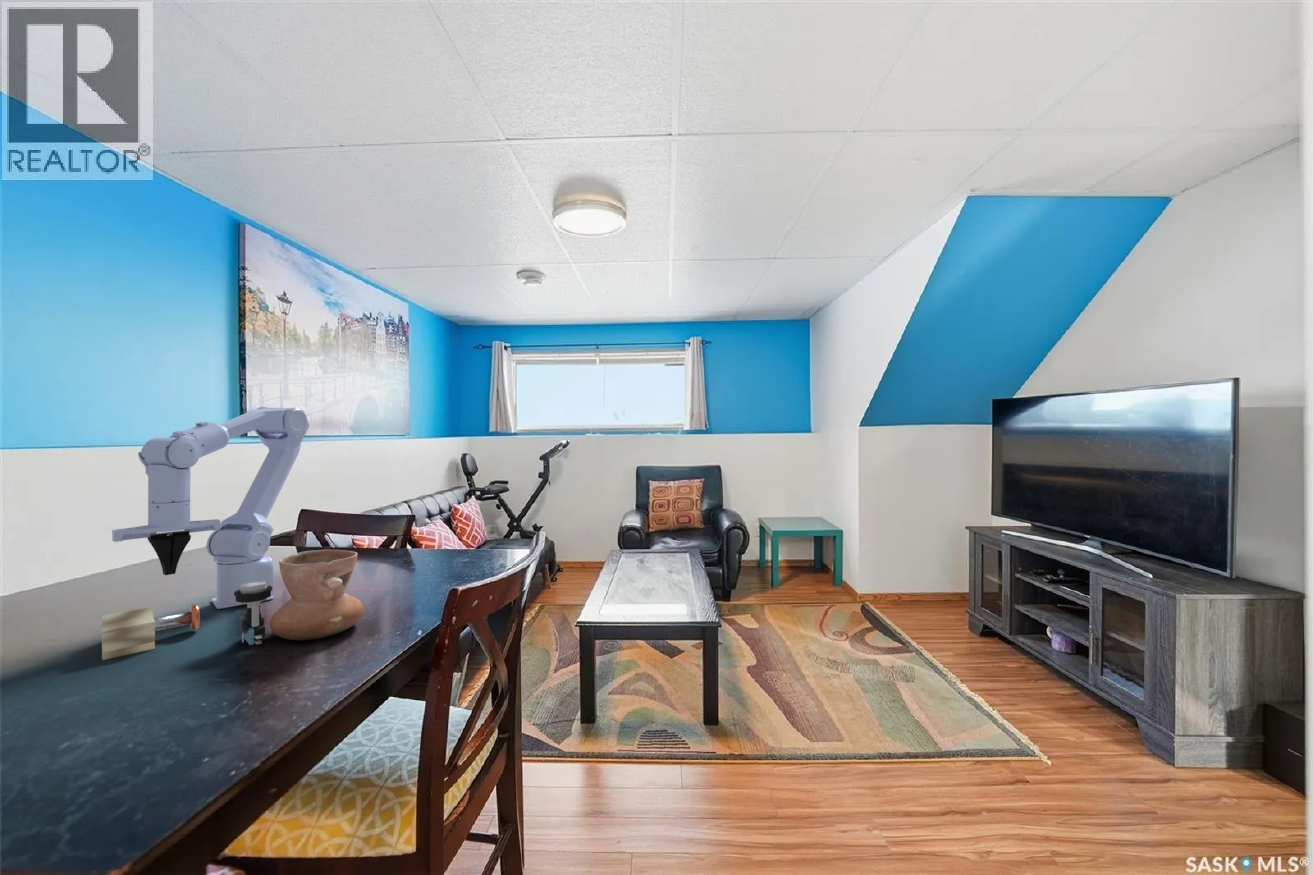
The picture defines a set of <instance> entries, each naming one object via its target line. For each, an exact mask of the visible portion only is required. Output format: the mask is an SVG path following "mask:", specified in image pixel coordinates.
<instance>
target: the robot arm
mask: <svg viewBox="0 0 1313 875" xmlns="http://www.w3.org/2000/svg"><path fill="white" fill-rule="evenodd" d="M309 428H310V423H309V421H308V417H307V414H306V413H305V411H304V410H303V409H302V408H300V407H296V406H294V407H268V406H267V407H266V406H259V407H257V408H254V409H253V408H252V409H249V410H248V411H247V412H245V413H243V414H241V415H238V416H236V417H234V418H231V419H229V420H226V421H224V422H222V423H220V424H218V423H216V422H211V421H210V422H209V421H198V422H196V423H195V426H194V427H192V428H188V429H185V430H176V431H173V432H172V434H171V435H169V437H166V436H160V437H159V436H158V437H153V438H150V439H149V440H148V441H146V443H144V445H143V446H142V448H141V451H139V452H138V453H137V454H138V455H137V456H138V459H139V461H140V462H141V463H142V465H143V466H144V468H145V474H146V475H147V525H140V526H133V527H125V528H116V529H112V536H111V537H112V538H111V540H112V542H114V543H117V542H124V541H129V540H137V539H146V540H148V542H149V544H150V545H151V547H152V548H153V550H154V552H155V553H156V556H157V557H158V559H159V562H160V566H161V568H162V575H164V576H170V575H175V574H176V572H177V568H178V564H179V561H180V560H181V556H182V554H183V552H184V551H185V549H186V547H187V545H188V544H189V543H190V540H191V539H192V536H191V534H190V533H198V532H199V533H200V532H208V531H213V532H211V534H210V535H209V536H208V539H207V541H206V551H207V553H208V555H210V556H211V557H213V562H215V563H216V597H213V598H211V602H212V604H213V605H214V606H215V609H217V610H221V609H222V610H223V609H227V608H232V607H239V606H242V605H245V604H241V603H240V602H236V596H235V595H234V592H235V591H236V590H239V589H241V585H243V584H245V583H249V582H256V581H264V582H266V585H268V586H272V587H273V589H272V591H271V596H270V597H268V598H266V600H264V601H263V602H265V601H270V600H274V597H275V596H274V562H273V559H272V557H271V556H268V555H267V556H265V555H266V553H267V551H269V547H270V545H271V544H270V543H271V538H272V537H271V536H272V534H273V532H274V528H273V526H272V525H271V524H270V522H269V521H268V520H267V519H268V517H269V515H270V513H271V510H272V508H273V506H274V504H275V503H276V501H277V498H278V497H279V494H280V492H281V490H282V488H283V486H284V484H285V482H286V480H287V478H288V476H289V474H290V471H291V470H292V468H293V465H294V463H295V462H296V459H298V458H297V457H298V455H299V454H300V449H301V444H302V443H303V439H304V438H305V436H306V434H307V431H308V430H309ZM251 432H255V434H256V435H257V437H258V438H259V439H260V441H261V442H262V444H263V445H264V446H266V447H267V448H268V452H267V455H266V456H265V458H264V460H263V462H262V464H261V466H260V468H259V470H258V472H257V473H256V476H255V478H254V479H253V481H252V482H251V485H250V487H249V489H248V490H247V493H246V494H245V497H244V498H243V500H242V502H241V504H240V506H239V508H238V510H237V512H235V513H234V514H232V515H230V516H228V517H227V518H225V519H223V520H221V519H203V520H191V467H194V466H195V465H196V464H197V463H198V462H199V460H200V458H202V457H204V456H206V455H209V454H212V453H215V452H217V451H219V450H222V449H224V448H225V447H227V445H228V443H229V440H230V439H233V438H236V437H239V436H242V435H245V434H248V433H251Z"/></svg>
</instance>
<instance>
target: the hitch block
mask: <svg viewBox="0 0 1313 875" xmlns="http://www.w3.org/2000/svg"><path fill="white" fill-rule="evenodd" d="M153 614H154V613H153V609H152V607H151V606H149V607H142V608H138V609H134V610H133V609H132V610H126V611H121V612H120V611H119V612H116V613H108V614H104V615H101V659H102V661H106V660H110V659H113V658H117V657H118V658H119V657H123V656H128V655H132V654H136V653H141V652H146V651H151V650H154V649H156V641H155V640H156V631H155V620H154V618H155V617H154V615H153Z"/></svg>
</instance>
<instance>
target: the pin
mask: <svg viewBox="0 0 1313 875" xmlns="http://www.w3.org/2000/svg"><path fill="white" fill-rule="evenodd" d="M154 620H155V632H157V631H162V630H166V629H167V630H168V629H172V628H175V627H176V628H177V627H181V626H187V625H189V627H190V630H191V631H194V630H198V629H200V626H201V608H200V604H199V603H197V604H196V603H195V604H191V605H190V606H189V611H185V612H178V613H176V614H170V615H165V616H158V617H154Z"/></svg>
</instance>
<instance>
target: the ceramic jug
mask: <svg viewBox="0 0 1313 875" xmlns="http://www.w3.org/2000/svg"><path fill="white" fill-rule="evenodd" d="M357 561H358V552H356V551H352V550H346V549H343V550H342V549H319V550H315V549H313V550H305V551H300V552H298V553H297V552H296V553H290V554H287V555H285V556H283V557H280V559H279V561H278V565H279V570H280V575H281V579H282V581H283V584H284V586H285V588H286V591H287V592H288V593H289V595H290V597H291V598H290V599H289V600H288V601H287V602H286V603H284V604H283V605H282V606H280V607H279V608H278V609H276V611H275V612H273V614H272V615H271V617H270V619H269V628H270V630H271V632H272V633H273V634H274V635H276V636H277V637H279V638H282V639H285V640H291V641H311V640H317V639H324V638H326V637H330V636H335V635H336V634H337V635H338V634H339V633H342V632H344V631H346V630H348V629H350V628H351V627H353V626H354V625H356V624H357V623H358V622H359V621H360V619H361V618H362V616H363V614H364V609H365V608H364V605H363V602H361V601H360V600H359V599H358V598H357V597H355V596H353V595H350V594H349V593H346V589H347V587H348V585H349V583H350V580H351V578H352V576H353V573H354V571H355V568H356V564H357Z"/></svg>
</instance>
